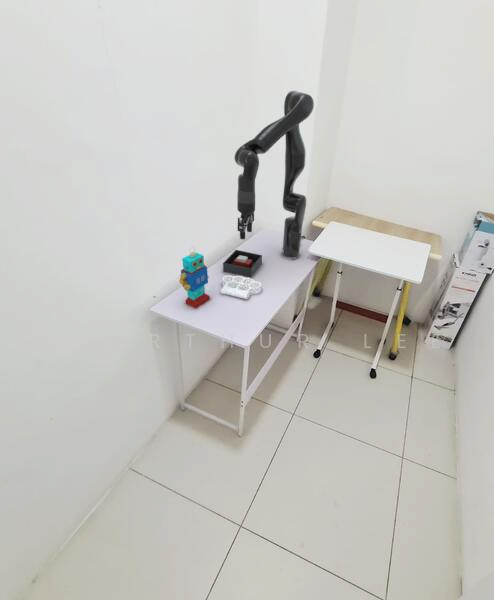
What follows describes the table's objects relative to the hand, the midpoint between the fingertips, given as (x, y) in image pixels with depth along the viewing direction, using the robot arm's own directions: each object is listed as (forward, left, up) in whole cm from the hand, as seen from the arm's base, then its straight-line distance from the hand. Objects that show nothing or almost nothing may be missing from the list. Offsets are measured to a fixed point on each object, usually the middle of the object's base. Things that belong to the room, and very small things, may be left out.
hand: (246, 235), depth 150 cm
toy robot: (+30, -10, -20) cm, 37 cm away
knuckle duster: (+15, +3, -20) cm, 25 cm away
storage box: (-3, -3, -19) cm, 20 cm away
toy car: (-3, -3, -19) cm, 19 cm away
